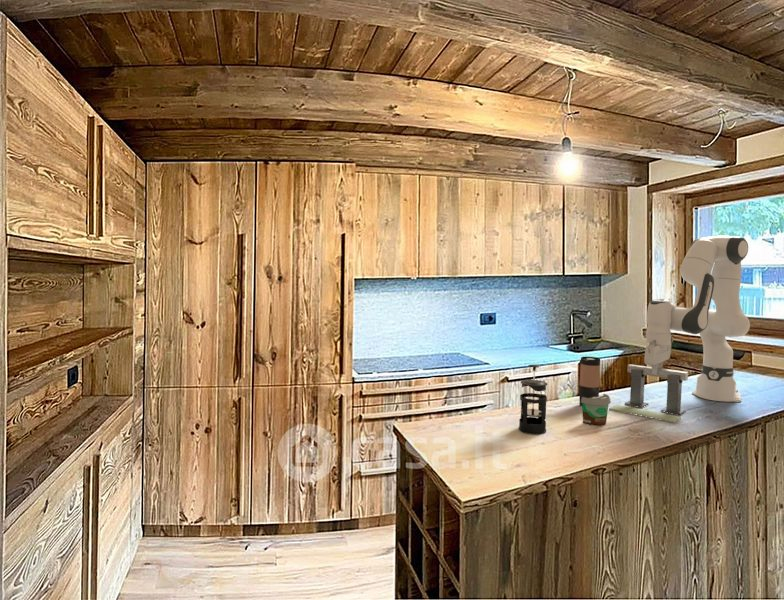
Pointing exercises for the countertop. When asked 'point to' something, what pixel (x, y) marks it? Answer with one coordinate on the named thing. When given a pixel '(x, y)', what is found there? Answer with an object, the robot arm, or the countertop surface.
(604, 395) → the food container
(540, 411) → the french press
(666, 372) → the rail
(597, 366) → the travel mug
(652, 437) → the countertop surface
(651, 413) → the mat
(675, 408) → the posts
